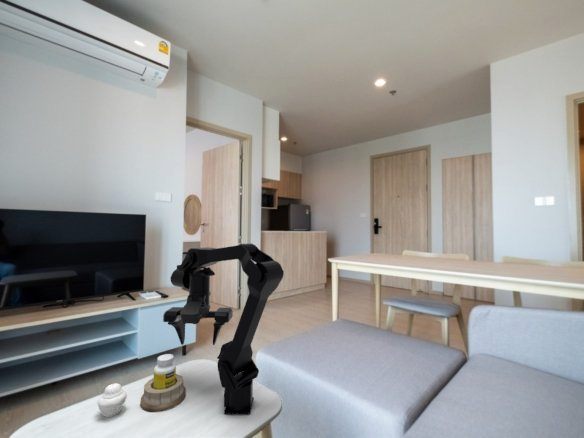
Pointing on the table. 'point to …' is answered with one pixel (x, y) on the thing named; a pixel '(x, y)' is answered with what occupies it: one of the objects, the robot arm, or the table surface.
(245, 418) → the table surface
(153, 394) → the stone fire pit
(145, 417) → the table surface
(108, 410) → the muffin
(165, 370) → the supplement bottle
